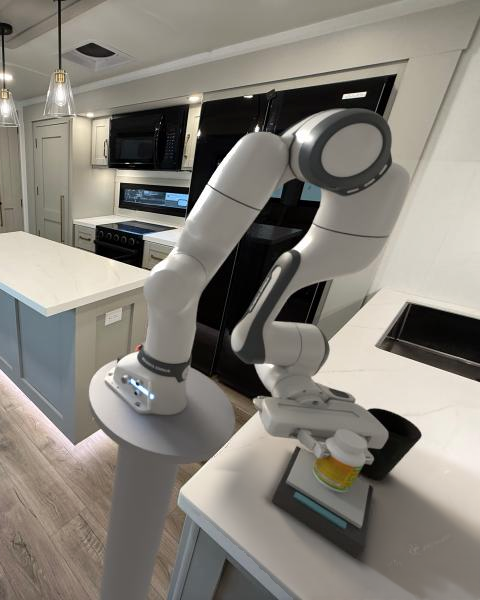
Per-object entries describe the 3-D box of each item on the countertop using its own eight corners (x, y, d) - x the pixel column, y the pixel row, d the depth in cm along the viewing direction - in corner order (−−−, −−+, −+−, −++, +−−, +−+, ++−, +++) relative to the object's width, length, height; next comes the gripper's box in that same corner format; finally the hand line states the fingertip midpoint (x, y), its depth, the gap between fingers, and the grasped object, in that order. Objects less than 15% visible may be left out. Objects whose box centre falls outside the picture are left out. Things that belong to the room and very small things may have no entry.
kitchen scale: (271, 501, 55) (277, 487, 53) (292, 455, 64) (297, 442, 63) (356, 558, 47) (366, 544, 46) (366, 498, 56) (375, 483, 55)
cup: (349, 445, 67) (372, 402, 62) (396, 471, 62) (425, 426, 57) (337, 463, 63) (361, 418, 58) (386, 492, 57) (417, 446, 53)
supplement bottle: (346, 500, 51) (370, 458, 47) (308, 477, 55) (327, 436, 51) (352, 479, 54) (375, 439, 50) (315, 459, 58) (334, 420, 54)
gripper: (253, 383, 64) (286, 437, 51) (359, 394, 62) (421, 453, 49) (245, 407, 66) (275, 464, 53) (347, 418, 64) (403, 479, 52)
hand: (346, 458), depth 51 cm, fingers closed on supplement bottle, 5 cm apart
